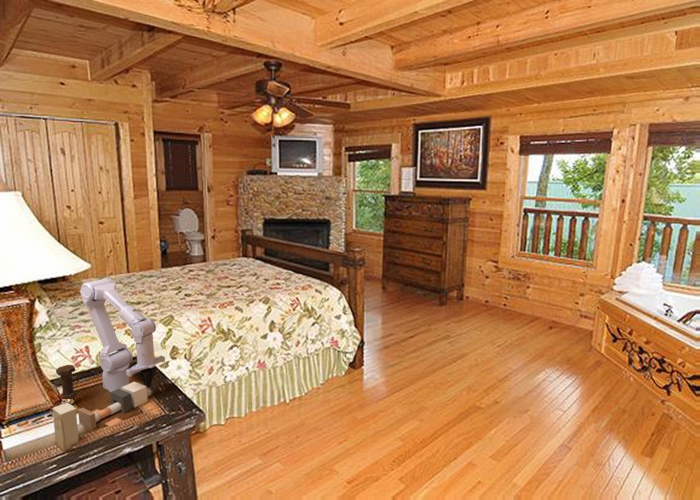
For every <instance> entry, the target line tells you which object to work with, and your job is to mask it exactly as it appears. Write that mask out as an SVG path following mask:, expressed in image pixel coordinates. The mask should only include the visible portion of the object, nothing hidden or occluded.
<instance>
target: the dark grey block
mask: <svg viewBox="0 0 700 500" xmlns="http://www.w3.org/2000/svg"><path fill="white" fill-rule="evenodd" d="M109 393H110V401H111V403H110V405H112V404H114V403H116V402H120V403H121V409H122V410H121V413H123V414H126V413H127V412H129V411H131V410H132V409H133V406H132V400H131V393H128V392H126V391H123V390H121V389H117V390H114V391H112V392H109Z"/></svg>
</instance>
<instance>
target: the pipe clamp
mask: <svg viewBox="0 0 700 500" xmlns="http://www.w3.org/2000/svg"><path fill="white" fill-rule="evenodd" d="M150 396H152V390H151V389H150V387H148V388H147V398H148V397H150ZM131 400H132V397H131ZM119 411H122V409H121V403H120V402H116V403H114V404H110V405H108V406H107V407H105V408H103V409H99V408H97V409H95V410H92V411H90V410H89V409H86V408H84V407H81V408H79V409H77V413H78V423H79V424H80V425H81V426H83V427H85V428H88V429H90V430H91V431H92V430H94V429H96V428H97V423H98V422H99V421H101V420H102V419H105V418H107V417H108V416H111V415H113V414H116V413H117V412H119ZM122 421H123V420H122V419H120V418H118V417H115V418H113V419H111V420H109V421H107V422H105V423H104V424H105V425H106V426H109V427H112V426H114V425H116V424H118V423H120V422H122Z"/></svg>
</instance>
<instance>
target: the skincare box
mask: <svg viewBox="0 0 700 500" xmlns="http://www.w3.org/2000/svg"><path fill="white" fill-rule="evenodd" d="M52 414H53V415H52V416H53V417H52V418H53V428H54V429H53V430H54V440H55V444H56V445H57V447H59V448H60V449H61V451H63V452H65V451H67V450H69V449H72V448H74V445H73V444H77V443H78V442H80V440H79V431H78V430H79V429H78V417H77V408H76V407H75V406H74V405H71V404H69V403H68V402H67V403H64V402H63V403H62V404H59V405H56V406H54V407H52Z"/></svg>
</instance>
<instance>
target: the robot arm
mask: <svg viewBox="0 0 700 500" xmlns="http://www.w3.org/2000/svg"><path fill="white" fill-rule="evenodd" d="M79 293H80V295H81V297H82V301H83V303H84V305H85V306H86V307H87V309H88V313H89V314H90V318H91V320H92V321H93V322H92V323H93V325H94V327H95V330H96V332H97V334H98V337H99V340H100V343H101V344H102V347H103V349H102V350H101V351H100V353H99V355H98V357H99V360H100V361H99V362H100V363H99V364H100V367H101V369H102V370H103V372H102V374H101V375H102V376H101V377H102V386H103V387H102V388H103V389H104V390H105V389H106V390H108V392H109V393H110V392H112V391H114V390H117V389H121V387H123V386H126V385H128V384H130V377H132V376H133V375H135V374H138V375H139V377H140V379H141V381H142V383H143V385H145V386H146V387H147V388H150V387H152V384H153V379H154V375H155V374H156V372H157V370H158V368H157V367H158V366H156V365H158V364H160V363H164V362H165V361H166V357H165V356H163V355H159V356H156V357H155V348H154V347H155V346H154V335H153V333H155V332H156V330H157V325H156V323H155V321H154V320H153V319H152V318H151V317H147V316H144V315H143V314H142V313H141V312H140V311H139V310H138V309H137V308H136V307H135V306H134V305H128V303H127V302H126V301H125V300H124V299H123V297H122V296H121V295H120V293H118V291H117V286H116V283H115V282H114V281H113V280H112V279H111V278H109V277H105V278H102V279H98V280H94V281H89V282H83V284H82V285H81V287H80V290H79ZM106 301H107V302H108V303H109V304H110V305H111V306H113V307H114V308H115V309H116V310H117V311H118V312H119V317H120V319H122V320H123V322H124V323H125V324H126V325H127V326H128V327H129V328H130V333H131V335H132V337H133V341H134V343H135V347H136V348H135V349H136V360H137V363H136V364H135V365H133V366H132V367H130V366H131V365H130V364H131V362H133V353H132V351H131V350H130V349H129V348H128V346H127V344H126V343H122V342H120V341H119V339H118V337H117V336H118V335H117V334H116V331H115V328H114V327H113V324H112V322H111V320H110V317H109V314H108V311H107V308H106V306H105V303H106ZM121 390H122V389H121Z"/></svg>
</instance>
